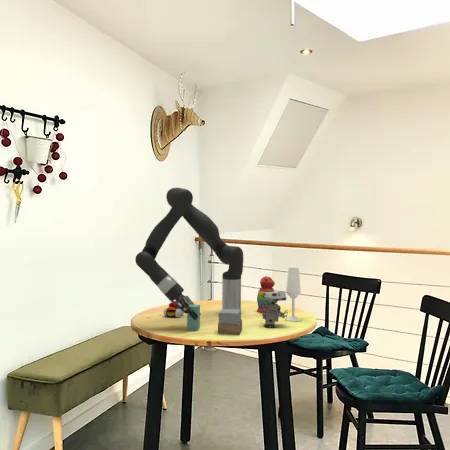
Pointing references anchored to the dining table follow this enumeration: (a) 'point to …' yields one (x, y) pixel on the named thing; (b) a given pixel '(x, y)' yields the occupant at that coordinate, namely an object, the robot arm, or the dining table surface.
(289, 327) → the dining table surface
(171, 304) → the rainbow petal toy
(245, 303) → the dining table surface
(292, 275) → the champagne flute
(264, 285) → the stacking bear
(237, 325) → the walnut base block
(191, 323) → the green block
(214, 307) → the dining table surface
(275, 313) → the figurine
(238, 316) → the gray top block
